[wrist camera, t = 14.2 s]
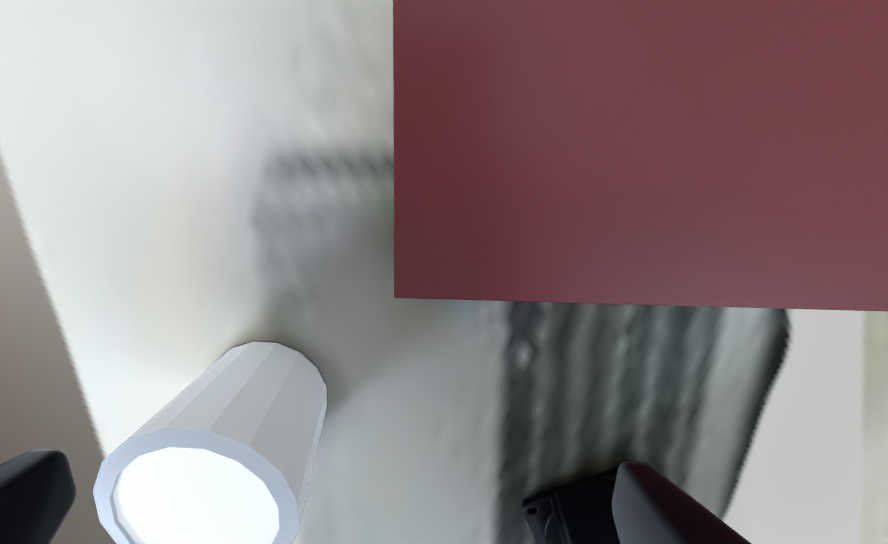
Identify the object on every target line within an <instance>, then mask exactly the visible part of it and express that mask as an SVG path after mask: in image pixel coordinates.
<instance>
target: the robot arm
mask: <svg viewBox="0 0 888 544" xmlns="http://www.w3.org/2000/svg"><path fill="white" fill-rule="evenodd" d="M75 498H76V486H75V483H74V479H73V476H72V472H71V469H70V466H69V462H68V459H67V456H66V455H65V454H64V453H63V452H62V451H60V450H47V449H45V450H44V449H37V450H31V451H28V452H26V453H24V454H22V455H20V456H18V457H15V458H13V459H11V460H9V461H6V462H4V463H2V464H0V544H50V543H51V541H52V539H53V538H54V536H55V534H56V533H57V531H58V529H59V528H60V526H61V524H62V523H63V521H64V519H65V518H66V516H67V514H68V513H69V511H70V510H71V508H72V506H73V504H74V501H75ZM531 507H534V508H531ZM522 508H523V513H524V515H525V518H526V520H527V522H528V524H529V526H530V528H531V530H532V532H533V534H534V536H535V538H536V540H537V542H538V544H751V543H750V542H748V541H747V540H746V539H745V538H743V537H742V536H741V535H739V534H738V533H737V532H736V531H734V530H733V529H732V528H730V527H729V526H728V525H727V524H725V523H724V522H723V521H721V520H720V519H719V518H718V517H716V516H715V515H714V514H713V513H711V512H710V511H709V510H707V509H706V508H705V507H704V506H702V505H701V504H700V503H698V502H697V501H696V500H695V499H693V498H692V497H691V496H689V495H688V494H687V493H686V492H684V491H683V490H682V489H680V488H679V487H678V486H677V485H675V484H674V483H673V482H671V481H670V480H669V479H668V478H666V477H665V476H664V475H662V474H661V473H660V472H659V471H657V470H656V469H655V468H654V467H652V466H651V465H649V464H648V463H645V462H623V463H621V464H620V466H619V468H617V469H614V470H611V471H608V472H605V473H602V474H599V475H596V476H593V477H590V478H587V479H583V480H580V481H577V482H574V483H571V484H568V485H565V486H562V487H559V488H556V489H553V490H550V491H547V492H544V493H541V494H538V495H535V496H532V497H529V498H527V499H525V500H524V501H523V503H522Z"/></svg>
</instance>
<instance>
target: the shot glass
mask: <svg viewBox="0 0 888 544" xmlns="http://www.w3.org/2000/svg"><path fill="white" fill-rule="evenodd" d="M326 408H327V387H326V385H325V383H324V381H323V379H322V377H321V375H320V373H319V371H318V369H317V367H316V366H314V365H313V364H312V363H311V362H310V361H309V360H308V359H307V358H306V357H305V356H303V355H302V354H301V353H300V352H298V351H296V350H293V349H291V348H288V347H286V346H284V345H281V344H279V343H271V342H254V341H253V342H250V343H247V344H243V345H240V346H237V347H234V348H231V349H230V350H229V351H228V352H227V353H225V354H224V355H223V356H222V357H221V358H220V359H219V360H217V361H216V362H215V363H214V364H213V365H212V366H211V367H209V368H208V369H207V370H206V371H205V372H204V373H203V374H201V375H200V376H199V377H198V378H197V379H196V380H195V381H193V382H192V383H191V384H190V385H189V386H188V387H187V388H185V389H184V390H183V391H182V392H181V393H180V394H179V395H177V396H176V397H175V398H174V399H173V400H172V401H171V402H169V403H168V404H167V405H166V406H165V407H164V408H163V409H162V410H160V411H159V412H158V413H157V414H156V415H155V416H154V417H152V418H151V419H150V420H149V421H148V422H147V423H146V424H144V425H143V426H142V427H141V428H140V429H139V430H138V431H136V432H135V433H134V434H133V435H132V436H131V437H130V438H128V439H127V440H126V441H125V442H124V443H123V444H122V445H121V446H119V447H118V448H117V449H116V450H115V451H114V452H113V453H112V454H110V455H109V456H108V457H107V458H106V459H105V460H104V461H103V462H102V464H101V467H100V470H99V473H98V476H97V480H96V483H95V486H94V489H93V494H94V499H95V503H96V507H97V512H98V516H99V520H100V523H101V524H102V525H103V527H104V528H105V529H106V530H107V532H108V533H109V534H110V536H111V537H112V538H113V540H114V541H115V542H116V544H292V543H293V542H294V540H295V538H296V536H297V534H298V532H299V528H300V524H301V519H302V515H303V510H304V506H305V502H306V497H307V493H308V488H309V484H310V479H311V475H312V471H313V466H314V462H315V457H316V453H317V448H318V444H319V440H320V435H321V431H322V426H323V422H324V417H325V413H326Z"/></svg>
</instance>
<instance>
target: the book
mask: <svg viewBox="0 0 888 544" xmlns="http://www.w3.org/2000/svg"><path fill="white" fill-rule="evenodd" d="M393 60H394V297H395V298H419V299H456V300H492V301H529V302H565V303H602V304H638V305H675V306H711V307H748V308H784V309H821V310H857V311H888V0H393Z"/></svg>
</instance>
